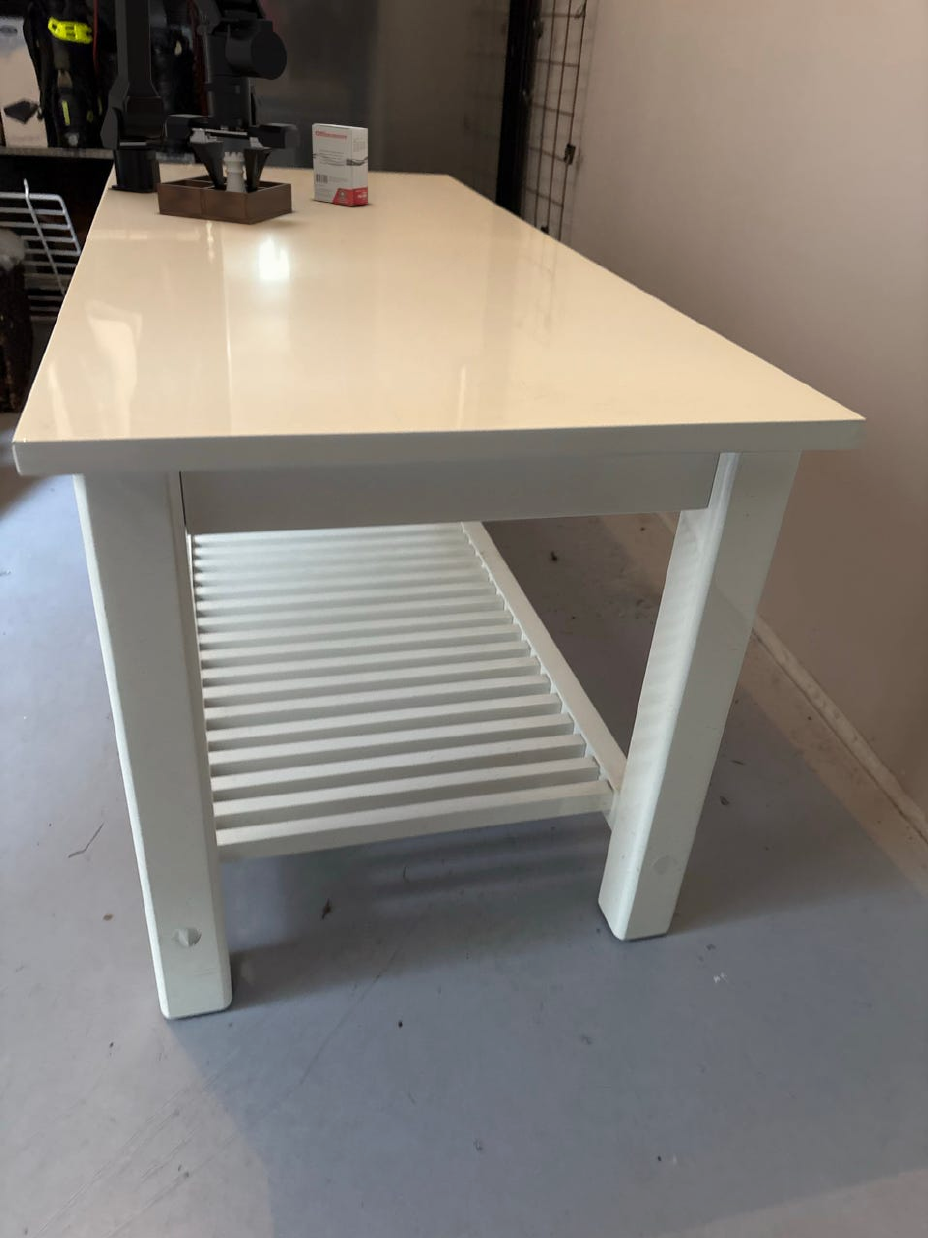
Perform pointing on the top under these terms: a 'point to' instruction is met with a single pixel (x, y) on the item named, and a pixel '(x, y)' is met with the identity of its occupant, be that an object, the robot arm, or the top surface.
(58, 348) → the top surface
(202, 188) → the organizer
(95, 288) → the top surface
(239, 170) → the rook chess piece
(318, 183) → the ink box
